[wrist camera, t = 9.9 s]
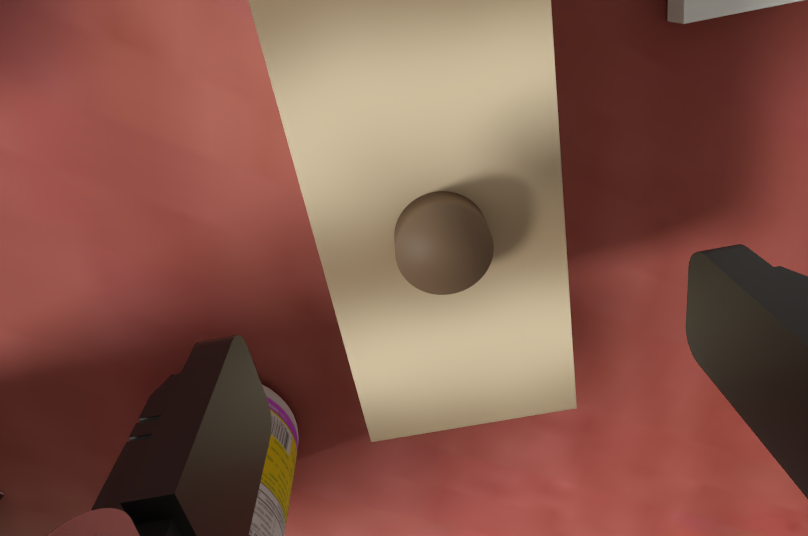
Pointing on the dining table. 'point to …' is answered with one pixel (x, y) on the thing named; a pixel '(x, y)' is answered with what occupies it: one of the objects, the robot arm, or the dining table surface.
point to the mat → (714, 8)
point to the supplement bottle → (276, 471)
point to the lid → (432, 200)
